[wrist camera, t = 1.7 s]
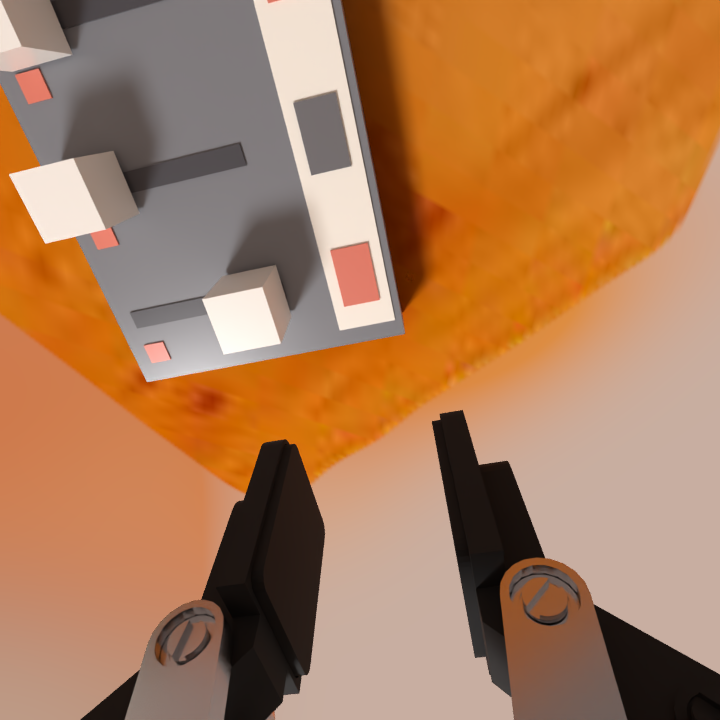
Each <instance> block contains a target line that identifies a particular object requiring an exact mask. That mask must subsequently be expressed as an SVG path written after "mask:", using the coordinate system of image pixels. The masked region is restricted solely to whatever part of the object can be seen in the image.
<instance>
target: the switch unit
mask: <svg viewBox="0 0 720 720" xmlns="http://www.w3.org/2000/svg"><path fill="white" fill-rule="evenodd" d="M50 2H51V4H52V6H53V9H54V11H55V14H56V16H57V18H58V21H59V23H60V25H61V28H62V30H63V33H64V35H65V37H66V40H67V42H68V44H69V47H70V49H71V52H72V54H73V55H70V56H66V57H63V58H59V59H56V60H52V61H49V62H45V63H42V64H38V65H34V66H31V67H27V68H24V69H20V70H17V71H13V72H10V71H0V84H1V86H2V88H3V90H4V92H5V94H6V96H7V98H8V100H9V102H10V104H11V106H12V108H13V110H14V112H15V114H16V117H17V119H18V121H19V123H20V125H21V127H22V129H23V131H24V133H25V135H26V137H27V139H28V141H29V143H30V145H31V147H32V149H33V151H34V153H35V155H36V157H37V159H38V161H39V163H40V165H41V166H44V165H48V164H52V163H56V162H60V161H64V160H68V159H72V158H77V157H82V156H88V155H93V154H99V153H104V152H110V151H114V154H115V156H116V158H117V161H118V163H119V166H120V168H121V170H122V173H123V175H124V177H125V180H126V182H127V185H128V187H129V189H130V192H131V194H132V196H133V199H134V201H135V204H136V206H137V208H138V211H139V213H140V214H138V215H136V216H133V217H131V218H129V219H127V220H125V221H123V222H121V223H119V224H117V225H114V226H112V227H110V228H108V229H106V230H102V231H97V232H93V233H89V234H84V235H80V236H76V238H77V241H78V243H79V245H80V247H81V249H82V251H83V253H84V255H85V257H86V259H87V261H88V263H89V265H90V267H91V269H92V271H93V273H94V275H95V277H96V279H97V281H98V283H99V285H100V287H101V289H102V291H103V293H104V295H105V297H106V299H107V301H108V304H109V306H110V308H111V310H112V312H113V314H114V316H115V318H116V320H117V322H118V324H119V326H120V328H121V330H122V332H123V334H124V336H125V338H126V340H127V342H128V344H129V346H130V348H131V350H132V352H133V354H134V356H135V358H136V360H137V362H138V364H139V367H140V369H141V371H142V373H143V375H144V377H145V379H146V381H147V382H150V381H155V380H161V379H166V378H171V377H177V376H182V375H188V374H193V373H198V372H204V371H209V370H214V369H220V368H225V367H230V366H236V365H241V364H246V363H252V362H257V361H262V360H268V359H273V358H278V357H284V356H289V355H294V354H300V353H305V352H310V351H316V350H321V349H327V348H332V347H337V346H343V345H348V344H353V343H359V342H364V341H369V340H375V339H380V338H385V337H391V336H396V335H401V334H405V330H404V323H403V315H402V310H401V304H400V299H399V294H398V289H397V284H396V278H395V273H394V268H393V263H392V258H391V252H390V247H389V242H388V237H387V232H386V226H385V221H384V216H383V211H382V206H381V200H380V195H379V190H378V185H377V180H376V174H375V169H374V164H373V159H372V154H371V148H370V143H369V138H368V133H367V128H366V122H365V117H364V112H363V107H362V102H361V96H360V91H359V86H358V81H357V76H356V70H355V65H354V60H353V55H352V50H351V44H350V39H349V34H348V29H347V24H346V18H345V13H344V8H343V3H342V0H50ZM273 265H276V267H277V271H278V274H279V277H280V280H281V284H282V287H283V290H284V293H285V297H286V300H287V303H288V306H289V310H290V313H291V319H290V321H289V324H288V327H287V329H286V332H285V334H284V337H283V340H282V342H281V344H277V345H271V346H266V347H261V348H256V349H250V350H245V351H240V352H235V353H229V354H223V351H222V349H221V346H220V344H219V341H218V339H217V336H216V334H215V331H214V329H213V326H212V323H211V321H210V318H209V316H208V313H207V311H206V308H205V306H204V303H203V301H202V299H203V298H204V297H205V296H206V294H207V293H208V292H209V291H210V290H211V289H212V288H213V286H214V285H215V284H216V283H217V282H218V281H219V280H220V278H221V277H222V276H225V275H230V274H235V273H240V272H244V271H249V270H254V269H259V268H263V267H268V266H273Z"/></svg>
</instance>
